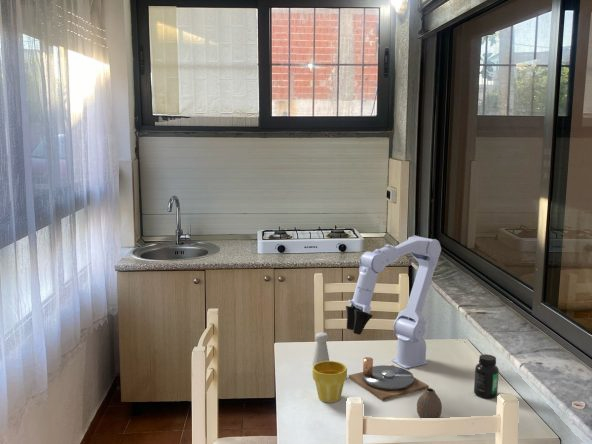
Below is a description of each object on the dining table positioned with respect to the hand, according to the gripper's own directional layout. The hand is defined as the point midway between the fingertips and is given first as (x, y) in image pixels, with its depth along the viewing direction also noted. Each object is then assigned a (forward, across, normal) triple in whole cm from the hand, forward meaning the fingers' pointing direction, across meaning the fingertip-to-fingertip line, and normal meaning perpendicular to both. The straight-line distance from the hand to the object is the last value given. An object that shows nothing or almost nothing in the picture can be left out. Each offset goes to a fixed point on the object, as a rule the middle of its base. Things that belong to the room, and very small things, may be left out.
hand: (353, 331), depth 187 cm
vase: (+16, +23, +20) cm, 35 cm away
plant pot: (+21, +6, -4) cm, 22 cm away
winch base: (+13, -1, +16) cm, 21 cm away
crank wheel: (+12, -1, +16) cm, 20 cm away
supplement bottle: (+7, +11, +42) cm, 45 cm away
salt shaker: (+17, -14, -2) cm, 22 cm away
